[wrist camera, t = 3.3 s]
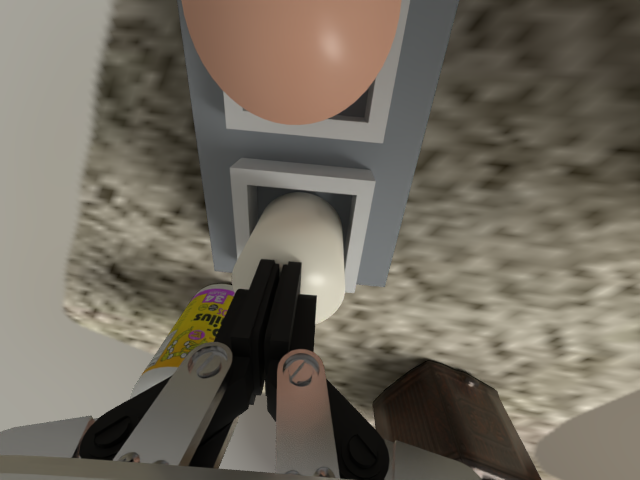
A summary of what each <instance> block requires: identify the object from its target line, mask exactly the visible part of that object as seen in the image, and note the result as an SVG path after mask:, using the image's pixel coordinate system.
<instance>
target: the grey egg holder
mask: <svg viewBox="0 0 640 480" xmlns="http://www.w3.org/2000/svg"><path fill="white" fill-rule="evenodd" d="M177 3H178V11H179V18H180V25H181V32H182V39H183V47H184V54H185V61H186V68H187V75H188V83H189V90H190V97H191V104H192V111H193V119H194V126H195V133H196V140H197V147H198V155H199V162H200V169H201V176H202V183H203V190H204V198H205V205H206V212H207V219H208V226H209V234H210V241H211V248H212V255H213V262H214V270H215V271H220V272H231V273H232V272H233V268H234V265H235V264H236V262H237V260H238V258H239V256H240V254H241V252H242V251H243V249H244V247H245V245H246V243H247V241H248V239H249V238H250V236H251V234H252V232H253V230H254V228H255V226H256V225H257V223H258V221H259V219H260V217H261V215H262V213H263V212H264V210H265V208H266V207H267V206H268V205H269V204H270V203H271V202H272V201H273V200H274V199H276V198H278V197H280V196H282V195H284V194H288V193H294V192H304V193H310V194H313V195H316V196H318V197H320V198H322V199H324V200H325V201H327V202H328V203H329V204H330V205H331V206H332V207H333V208H334V209H335V211H336V212H337V214H338V215H339V218H340V220H341V224H342V233H343V252H344V271H345V292H349V293H355V287H356V284H359V285H369V286H380V287H385V284H386V280H387V276H388V272H389V269H390V265H391V261H392V257H393V253H394V249H395V245H396V242H397V238H398V234H399V230H400V226H401V222H402V219H403V215H404V211H405V207H406V203H407V199H408V196H409V192H410V188H411V184H412V180H413V176H414V172H415V169H416V165H417V161H418V157H419V153H420V149H421V146H422V142H423V138H424V134H425V130H426V126H427V122H428V119H429V115H430V111H431V107H432V103H433V99H434V96H435V92H436V88H437V84H438V80H439V76H440V72H441V69H442V65H443V61H444V57H445V53H446V49H447V46H448V42H449V38H450V34H451V30H452V26H453V23H454V19H455V15H456V11H457V7H458V3H459V0H401V8H400V16H399V21H398V25H397V30H396V34H395V37H394V40H393V43H392V46H391V49H390V52H389V54H388V56H387V58H386V60H385V63H384V65H383V67H382V68H381V70H380V72H379V73H378V75H377V77H376V78H375V80H374V81H373V82H372V84H371V85H370V86H369V88H368V89H367V90H366V91H365V92H364V93H363V94H362V95H361V96H360V97H359V98H358V99H357V100H356V101H355V102H354V103H353V104H352V105H350V106H349V107H348V108H346V109H345V110H343V111H342V112H340V113H338V114H337V115H335V116H333V117H330V118H328V119H326V120H323V121H320V122H316V123H312V124H304V125H286V124H280V123H275V122H272V121H268V120H265V119H263V118H260V117H258V116H256V115H254V114H252V113H250V112H249V111H247V110H246V109H244V108H242V107H241V106H240V105H238V104H237V103H236V102H235V101H233V100H232V99H231V98H230V97H229V96H228V95H227V94H226V93H225V92H224V91H223V90H222V89H221V88H220V87H219V86H218V84H217V83H216V82H215V81H214V79H213V78H212V77H211V75H210V74H209V72H208V71H207V69H206V67H205V66H204V64H203V63H202V61H201V59H200V57H199V55H198V53H197V51H196V49H195V46H194V44H193V41H192V39H191V36H190V34H189V31H188V27H187V23H186V20H185V16H184V12H183V6H182V1H181V0H177Z"/></svg>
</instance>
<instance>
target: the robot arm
mask: <svg viewBox="0 0 640 480" xmlns="http://www.w3.org/2000/svg"><path fill="white" fill-rule="evenodd" d="M279 268H280V267H279V264H275V260H268V259H261V260H260V262H259V265H258V267H257V270H256V273H255V275H254V278H253V280H252V283H251V285H250V288H249V290H248V289H238V290H237V291H236V293H235V295H234V297H233V299H232V301H231V304H230V306H229V308H228V310H227V313H226V315H225V317H224V319H223V322H222V324H221V326H220V328H219V330H218V333H217V335H216V337H215V339H214V342H209V343H204V344H202V345H199V346H197V347H196V348H194V349H193V350H191V352H190V353H189V354H188V355H187V356H186V357H185V359H184V360H183V361H182V363H181V364H180V366H179V367H178V368H177V370H176V371H175V373H174V374H173V375H172V376H170V377H168V378H167V379H165V380H163V381H161V382H160V383H158V384H156V385H154V386H152V387H151V388H149V389H147V390H145V391H144V392H142V393H140V394H138V395H137V396H135V397H133V398H131V399H130V400H128V401H126V402H124V403H122V404H121V405H119V406H117V407H115V408H114V409H112V410H110V411H108V412H107V413H105V414H104V415H102V416H101V417H100V418H96V419H93V418H92V416H86V417H80V418H73V419H66V420H60V421H54V422H47V423H40V424H34V425H27V426H20V427H14V428H11V429H8V430H5V431H2V432H0V480H482V479H481V478H480V476H479V475H478V474H477V473H476V472H475V471H474V470H473V469H472V468H470V467H469V466H467V465H465V464H463V463H461V462H458V461H455V460H453V459H450V458H447V457H444V456H441V455H438V454H435V453H432V452H429V451H427V450H424V449H421V448H418V447H415V446H412V445H409V444H406V443H403V442H400V441H398V440H396V441H395V443H394V442H391V441H388V440H385V439H383V438H382V437H381V436H380V434H379V433H378V432H377V431H376V430H375V429H374V428H373V427H372V426H371V425H370V423H369V422H368V421H367V420H366V419H365V418H364V417H363V416H362V415H361V414H360V413H359V412H358V411H357V410H356V409H355V408H354V407H353V406H352V405H351V404H350V403H349V402H348V401H347V400H346V399H345V398H344V396H343V395H342V394H341V393H340V392H339V391H338V390H337V389H336V388H335V387H334V386H333V385H332V384H331V383H330V382H329V381H328V380H327V379H326V376H325V369H324V365H323V362H322V360H321V359H320V357H319V356H318V355H316V354H315V353H314V352H313V350H314V335H315V319H316V303H317V295H306V294H300V286H301V269H302V262H291V261H289V262H288V265H286V264H283V267H282V271H281V275H280V279H279ZM264 381H265V391H266V396H267V409H268V412H269V413H270V414H271V416H272V417H273V419H274V420H275V421H276V460H275V461H276V462H275V473H265V472H254V471H253V472H252V471H240V470H228V469H219V466H220V464H221V461H222V459H223V457H224V454H225V452H226V449H227V447H228V445H229V442H230V440H231V437H232V435H233V432H234V430H235V428H236V425H237V423H238V419H239V415H240V414H242V413H243V412H244V411H246V410H247V409H248V407H249V405H254V401H255V397H256V395H261V394H262V390H263V386H264Z"/></svg>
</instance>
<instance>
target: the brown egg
mask: <svg viewBox="0 0 640 480" xmlns="http://www.w3.org/2000/svg"><path fill="white" fill-rule="evenodd" d="M181 1H182V6H183V12H184V16H185V20H186V23H187V27H188V31H189V34H190V36H191V39H192V41H193V44H194V46H195V49H196V51H197V53H198V55H199V57H200V59H201V61H202V63H203V64H204V66H205V67H206V69H207V71H208V72H209V74H210V75H211V77H212V78H213V79H214V81H215V82H216V83H217V84H218V86H219V87H220V88H221V89H222V90H223V91H224V92H225V93H226V94H227V95H228V96H229V97H230V98H231V99H232V100H233V101H235V102H236V103H237V104H238V105H240V106H241V107H242V108H244V109H246V110H247V111H249V112H250V113H252V114H254V115H256V116H258V117H260V118H263V119H265V120H268V121H272V122H275V123H280V124H286V125H304V124H312V123H316V122H320V121H323V120H326V119H328V118H330V117H333V116H335V115H337V114H338V113H340V112H342V111H343V110H345V109H346V108H348V107H349V106H350V105H352V104H353V103H354V102H355V101H356V100H357V99H358V98H359V97H360V96H361V95H362V94H363V93H364V92H365V91H366V90H367V89H368V88H369V86H370V85H371V84H372V82H373V81H374V80H375V78H376V77H377V75H378V73H379V72H380V70H381V68H382V67H383V65H384V63H385V60H386V58H387V56H388V54H389V52H390V49H391V46H392V43H393V40H394V37H395V34H396V30H397V25H398V21H399V16H400V8H401V0H181Z"/></svg>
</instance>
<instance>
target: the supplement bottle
mask: <svg viewBox="0 0 640 480" xmlns="http://www.w3.org/2000/svg"><path fill="white" fill-rule="evenodd" d="M234 295H235V293H234V290H233V286H232V285H228V284H214V285H210V286H207V287H205V288H203V289H201V290H200V291H199V292H197V294H196V295H195V296H194V297H193V299H192V300H191V301H190V303H189V304H188V306H187V307H186V309H185V310H184V312H183V313H182V315H181V316H180V318H179V319H178V321H177V322H176V324H175V325H174V327H173V328H172V330H171V331H170V333H169V334H168V336H167V337H166V339H165V341H164V342H163V344H162V345H161V347H160V348H159V350H158V351H157V353H156V354H155V356H154V357H153V359H152V360H151V362H150V363H149V365H148V366H147V368H146V369H145V371H144V372H143V374H142V375H141V377H140V378H139V380H138V381H137V383H136V385H135V387H134V388H133V390H132V393H131V397H130V399H131V398H133V397H135V396H137V395H138V394H140V393H142V392H144V391H145V390H147V389H149V388H151V387H152V386H154V385H156V384H158V383H160V382H161V381H163V380H165V379H167V378H168V377H170V376H172V375H173V374H174V373H175V371H176V370H177V368H178V367H179V366H180V364H181V363H182V361H183V360H184V359H185V357H186V356H187V355H188V354H189V353H190V352H191V350H193V349H194V348H196V347H197V346H199V345H202V344H204V343H209V342H214V339H215V337H216V335H217V333H218V330H219V328H220V326H221V324H222V322H223V319H224V317H225V315H226V313H227V310H228V308H229V306H230V304H231V301H232V299H233V297H234Z"/></svg>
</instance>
